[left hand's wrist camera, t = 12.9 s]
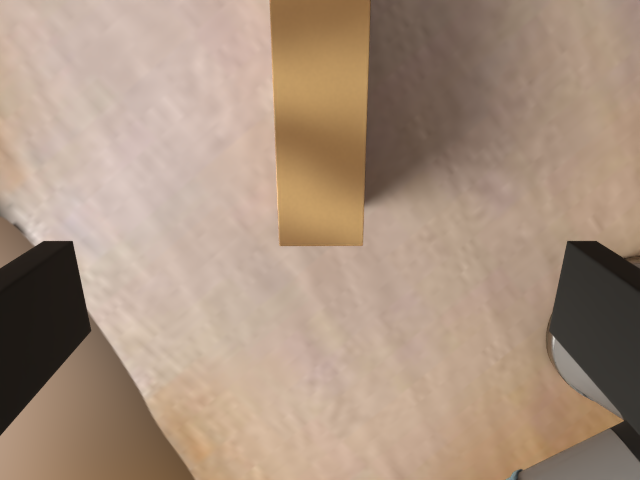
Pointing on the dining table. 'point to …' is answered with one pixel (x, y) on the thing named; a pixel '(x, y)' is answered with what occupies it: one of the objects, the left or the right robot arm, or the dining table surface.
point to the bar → (320, 119)
